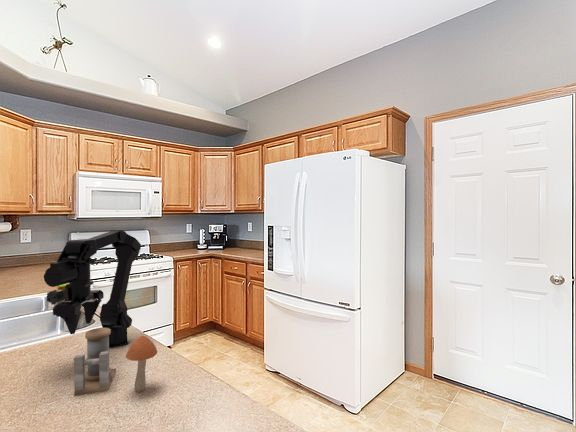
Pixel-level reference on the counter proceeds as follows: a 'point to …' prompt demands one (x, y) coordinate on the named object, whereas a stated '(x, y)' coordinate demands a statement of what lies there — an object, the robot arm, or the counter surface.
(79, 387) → the grey h-shaped frame
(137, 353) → the mushroom
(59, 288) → the hamburger
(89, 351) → the ball
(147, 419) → the counter surface
